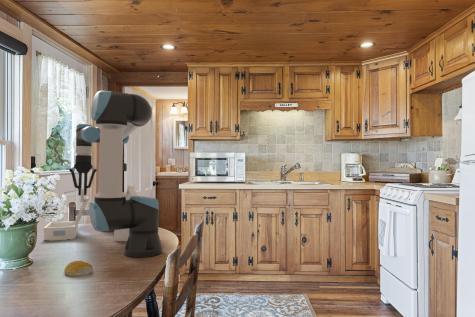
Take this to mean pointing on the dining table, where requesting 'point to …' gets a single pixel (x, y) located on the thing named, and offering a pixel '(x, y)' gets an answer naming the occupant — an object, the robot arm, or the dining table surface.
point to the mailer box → (60, 230)
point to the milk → (124, 233)
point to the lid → (81, 210)
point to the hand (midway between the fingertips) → (82, 201)
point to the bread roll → (78, 268)
